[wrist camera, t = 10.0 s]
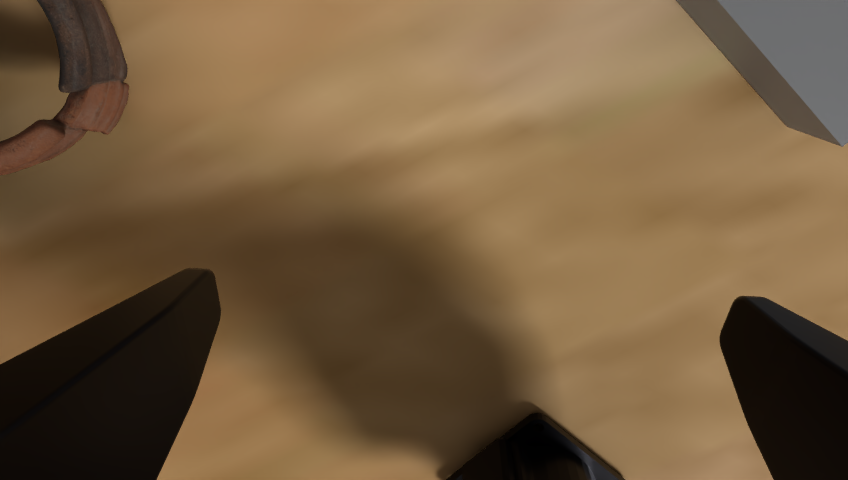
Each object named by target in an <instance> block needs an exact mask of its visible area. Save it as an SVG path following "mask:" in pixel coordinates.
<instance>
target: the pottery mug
mask: <svg viewBox="0 0 848 480" xmlns="http://www.w3.org/2000/svg"><path fill="white" fill-rule="evenodd" d="M37 1H38V3H39V4H40V5H41V7H42V9H43V10H44V12H45V14H46V16H47V17H48V20H49V21H50V23H51V26H52V29H53V31H54V34H55V37H56V41H57V46H58V50H59V56H60V77H59V90H60V91H61V92H65V93H70V94H69V96H68V98H67V100H66V103H65V105H64V106H63V108H62V109H61V110H60V111H59V113H58V114H57V115H56V116H55V117H54V118H53V119H51V120H38V121H36V122H35V123H34V124H32V125H31V126H29V127H28V128H26V129H25V130H24V131H22V132H21V133H19V134H17V135H15V136H13V137H11V138H9V139H7V140H4V141H1V142H0V175H5V174H10V173H13V172H16V171H19V170H22V169H25V168H28V167H31V166H33V165H36V164H38V163H41V162H44V161H47V160H50V159H52V158H54V157H55V156H57V155H59V154H61V153H62V152H64V151H66V150H67V149H68V148H70V147H71V146H73V145H74V144H75V143H76V142H77V141H78V140H80V139H81V138H82V137H83V136H84V134H85V133H86V131H88V130H89V131H94V132H101V133H103V134H109V133H110V132H111V131H112V129H113V128H114V127H115V126H116V124H117V123H118V121H119V119H120V117H121V115H122V113H123V110H124V108H125V105H126V103H127V101H128V95H129V93H128V90H129V85H128V84H126V83H124V82H123V81H124V80H125V79H126V77H127V64H126V61H125V58H124V54H123V52H122V48H121V45H120V42H119V40H118V38H117V35H116V33H115V30H114V27H113V25H112V23H111V21H110V18H109V16H108V14H107V12H106V10H105V8H104V6H103V4H102V3H101V1H100V0H37Z"/></svg>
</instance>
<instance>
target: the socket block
mask: <svg viewBox="0 0 848 480" xmlns="http://www.w3.org/2000/svg"><path fill="white" fill-rule="evenodd" d="M676 1H677V2H678V3H679V4H680V5H681V6H682V8H683V9H684V10H685V11H686V12H687V13H688V14H689V16H690V17H691V18H692V19H693V20H694V21H695V22H696V24H697V25H698V26H699V27H700V28H701V29H702V30H703V31H704V33H705V34H706V35H707V36H708V37H709V38H710V39H711V41H712V42H713V43H714V44H715V45H716V46H717V47H718V49H719V50H720V51H721V52H722V53H723V54H724V55H725V57H726V58H727V59H728V60H729V61H730V62H731V63H732V65H733V66H734V67H735V68H736V69H737V70H738V71H739V72H740V74H741V75H742V76H743V77H744V78H745V79H746V80H747V82H748V83H749V84H750V85H751V86H752V87H753V88H754V90H755V91H756V92H757V93H758V94H759V95H760V96H761V98H762V99H763V100H764V101H765V102H766V103H767V104H768V106H769V107H770V108H771V109H772V110H773V111H774V112H775V114H776V115H777V116H778V117H779V118H780V119H781V120H782V121H783V123H784V124H785V125H786V126H787V127H789V128H792V129H795V130H797V131H800V132H803V133H806V134H809V135H811V136H814V137H817V138H820V139H822V140H825V141H828V142H831V143H833V144H836V145H839V146H842V147H843V146H844V145H845V144H846V143H848V0H676Z"/></svg>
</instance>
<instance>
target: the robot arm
mask: <svg viewBox="0 0 848 480" xmlns="http://www.w3.org/2000/svg"><path fill="white" fill-rule="evenodd" d="M220 316H221V307H220V301H219V296H218V290H217V285H216V280H215V276H214V273H213V272H212V271H211V270H210V269H198V268H187V269H184V270H183V271H181V272H179V273H177V274H175V275H173V276H171V277H169V278H167V279H165V280H163V281H161V282H159V283H157V284H155V285H153V286H152V287H150V288H148V289H146V290H144V291H142V292H140V293H138V294H136V295H134V296H132V297H130V298H128V299H126V300H124V301H122V302H120V303H119V304H117V305H115V306H113V307H111V308H109V309H107V310H105V311H103V312H101V313H99V314H97V315H95V316H93V317H91V318H89V319H88V320H86V321H84V322H82V323H80V324H78V325H76V326H74V327H72V328H70V329H68V330H66V331H64V332H62V333H60V334H58V335H57V336H55V337H53V338H51V339H49V340H47V341H45V342H43V343H41V344H39V345H37V346H35V347H33V348H31V349H29V350H27V351H25V352H24V353H22V354H20V355H18V356H16V357H14V358H12V359H10V360H8V361H6V362H4V363H2V364H0V480H157V477H158V475H159V473H160V471H161V469H162V467H163V465H164V462H165V460H166V458H167V456H168V454H169V452H170V449H171V447H172V445H173V443H174V441H175V439H176V437H177V434H178V432H179V430H180V428H181V426H182V424H183V421H184V419H185V417H186V415H187V413H188V411H189V408H190V406H191V404H192V401H193V399H194V397H195V394H196V391H197V389H198V386H199V383H200V380H201V377H202V374H203V371H204V368H205V364H206V361H207V358H208V355H209V352H210V349H211V346H212V343H213V340H214V337H215V334H216V331H217V328H218V325H219V321H220ZM720 346H721V350H722V353H723V356H724V359H725V361H726V364H727V367H728V370H729V373H730V376H731V379H732V382H733V384H734V387H735V390H736V393H737V396H738V399H739V402H740V404H741V407H742V410H743V413H744V416H745V418H746V421H747V423H748V426H749V428H750V430H751V433H752V435H753V437H754V439H755V441H756V443H757V446H758V448H759V450H760V452H761V454H762V456H763V458H764V460H765V462H766V465H767V467H768V469H769V471H770V473H771V475H772V477H773V479H774V480H848V341H847V340H845V339H843V338H841V337H840V336H838V335H836V334H834V333H832V332H830V331H828V330H826V329H824V328H822V327H820V326H818V325H817V324H815V323H813V322H811V321H809V320H807V319H805V318H803V317H801V316H799V315H797V314H796V313H794V312H792V311H790V310H788V309H786V308H784V307H782V306H780V305H778V304H776V303H775V302H773V301H771V300H769V299H767V298H764V297H756V296H740V297H738V298H736V299H735V300H734V302H733V303H732V306H731V308H730V311H729V313H728V315H727V318H726V320H725V323H724V325H723V328H722V330H721V333H720ZM535 424H541V425H539V426H534V425H535ZM447 480H625V479H624V478H622V477H621V476H620V475H619V474H617V473H616V472H615V471H614V470H612V469H611V468H610V467H609V466H607V465H606V464H605V463H604V462H602V461H601V460H600V459H599V458H597V457H596V456H595V455H594V454H592V453H591V452H590V451H589V450H587V449H586V448H585V447H584V446H582V445H581V444H580V443H579V442H577V441H576V440H575V439H574V438H572V437H571V436H570V435H569V434H567V433H566V432H565V431H564V430H562V429H561V428H560V427H559V426H557V425H556V424H555V423H554V422H552V421H551V420H550V419H549V418H547V417H546V416H545V415H543V414H541V413H534V414H531V415H529V416H528V417H527V418H525V419H524V420H523V421H522V422H520V423H519V424H518V425H516V426H515V427H514V428H513V429H511V430H510V431H509V432H507V433H506V434H505V435H503V436H502V437H501V438H500V439H497V440H496V441H494V442H493V443H492V444H491V445H489V446H488V447H487V448H485V449H484V450H483V451H482V452H480V453H479V454H478V455H476V456H475V457H474V458H473V459H471V460H470V461H469V462H467V463H466V464H465V465H464V466H463V467H462V468H461V469H460V470H458V471H457V472H456V473H454V474H453V475H452V476H450V477H449V478H448V479H447Z"/></svg>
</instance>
